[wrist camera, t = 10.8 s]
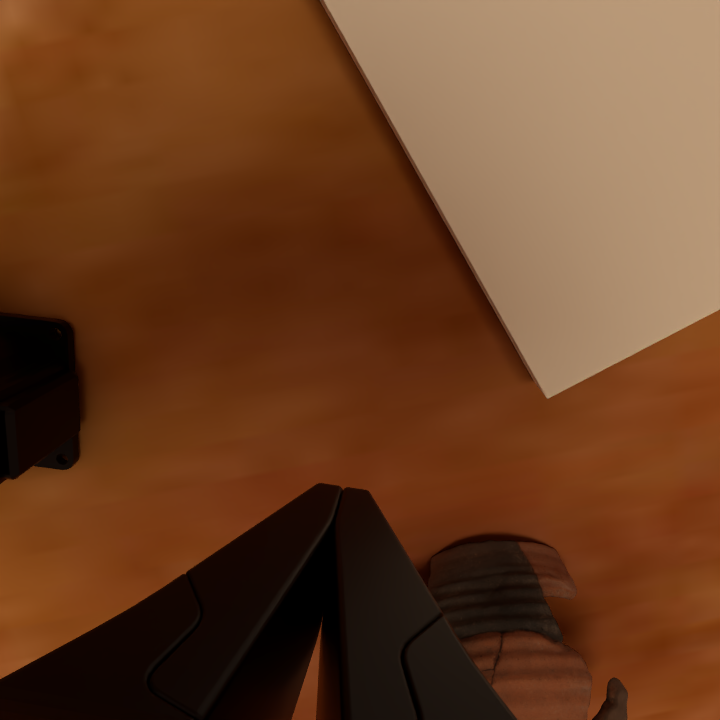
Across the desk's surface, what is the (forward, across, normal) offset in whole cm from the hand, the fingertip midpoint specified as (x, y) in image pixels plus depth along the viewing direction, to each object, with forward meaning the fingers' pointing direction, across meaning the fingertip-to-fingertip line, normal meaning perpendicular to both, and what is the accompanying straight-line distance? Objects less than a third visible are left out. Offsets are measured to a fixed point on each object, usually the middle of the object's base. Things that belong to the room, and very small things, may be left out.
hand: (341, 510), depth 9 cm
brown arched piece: (+13, -6, +13) cm, 20 cm away
